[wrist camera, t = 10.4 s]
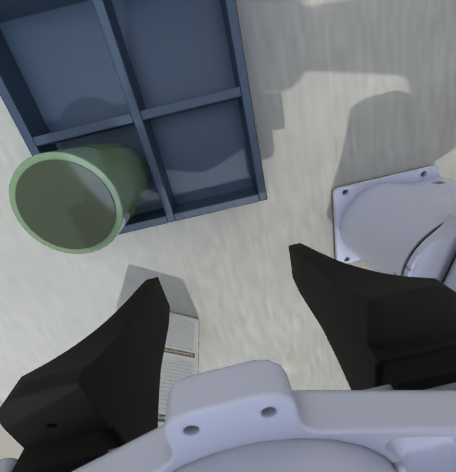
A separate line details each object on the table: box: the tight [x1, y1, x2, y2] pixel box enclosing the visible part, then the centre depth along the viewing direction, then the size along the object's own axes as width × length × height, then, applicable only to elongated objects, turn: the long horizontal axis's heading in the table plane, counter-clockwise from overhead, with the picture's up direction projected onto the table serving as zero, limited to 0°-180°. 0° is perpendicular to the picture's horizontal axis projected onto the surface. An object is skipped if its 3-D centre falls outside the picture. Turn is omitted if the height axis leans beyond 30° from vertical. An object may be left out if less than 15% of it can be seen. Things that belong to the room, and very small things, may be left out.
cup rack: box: [0, 0, 267, 234], centre depth 18 cm, size 15×15×3 cm
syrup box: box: [158, 312, 199, 427], centre depth 22 cm, size 6×6×14 cm
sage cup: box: [9, 141, 152, 254], centre depth 17 cm, size 6×6×8 cm
